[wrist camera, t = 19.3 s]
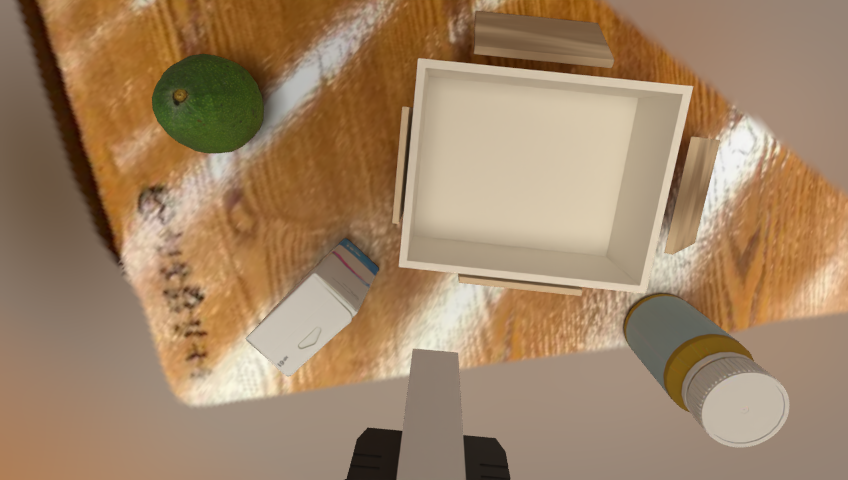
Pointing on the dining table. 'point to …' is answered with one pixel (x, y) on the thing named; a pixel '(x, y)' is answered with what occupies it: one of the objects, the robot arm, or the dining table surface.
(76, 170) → the dining table surface
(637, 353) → the bottle
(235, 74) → the fruit
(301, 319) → the ink box
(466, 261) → the carton
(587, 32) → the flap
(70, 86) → the dining table surface
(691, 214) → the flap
